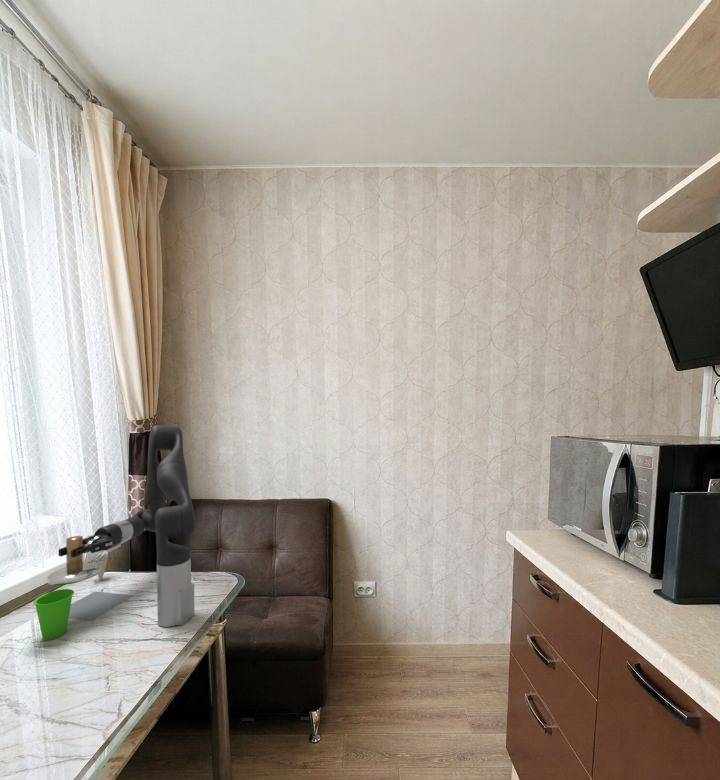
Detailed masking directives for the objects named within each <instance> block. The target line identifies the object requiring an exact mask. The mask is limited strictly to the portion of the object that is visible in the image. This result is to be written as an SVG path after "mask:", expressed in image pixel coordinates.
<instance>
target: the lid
mask: <svg viewBox="0 0 720 780" xmlns="http://www.w3.org/2000/svg"><path fill="white" fill-rule="evenodd" d="M65 543H66V545H65V547H66V555H65V556H66V557H65V558H66V559H65V560H66V561H65V562H66V564H65V565H66V566H65V567H62V568H59V569H57V570H55V571H53V572H51V573H50V574H48V576H47V584H48V585H51V586H66V585H72V584H75V583H80V582H83V581H86V580H89V579H91V578H93V577H96V576H98V573H99V572H100V565H99V564H97V563H93V562H85V563H84V561H83V560H84V556H83V554H84V553H83V554H81V555H79V556H76V557H71V550H73V549H75V548H78V547H80V546H83V535H75V536H70V537H67V539H66V541H65Z"/></svg>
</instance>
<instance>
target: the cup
mask: <svg viewBox="0 0 720 780" xmlns="http://www.w3.org/2000/svg"><path fill="white" fill-rule="evenodd" d="M74 594H75V592H74V590H73V589H70V588H63V589H57V590H53V591H50V592H47V593H43V594H42V595H40V596H38V597H37V598H35V599H34V600H33V605H34V606H35V608H36V613H37V618H38V623H39V626H40V628H39V629H40V631H41V637H42V640H43V641H50V640H55V639H58V638H60V637H62V636H64V635H65V634H66V633H67V629H68V623H69V619H70V618H69V612H70V607H71V604H72V600H73V599H72V598H73V596H74Z"/></svg>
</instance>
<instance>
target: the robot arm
mask: <svg viewBox="0 0 720 780" xmlns="http://www.w3.org/2000/svg"><path fill="white" fill-rule="evenodd" d="M182 431H183V430H182V429H181V427H178V426H173V425H159V424H158V425H157V424H156V425H153V426H152V427H151V429H150V433H149V436H148V437H149V438H148V449H147V451H148V452H147V474H146V475H147V478H146V486H145V492H144V497H143V502H144V504H145V505H146V506H148V507H149V508H150V509H147V508H146V509H142V510H139V511H138V512H136V513H135V514H134V515H132V516H131V517H129V518H127V519H124V520H120V521H116V522H113V523H110V524H107V525H104V526H102V527H99V528H97V530H96V531H95V533H94V534H91V535H87V536H86V537H84V538H83V546H80V547H78V548H75V549H73V550H71V557H76V556H79V555H81V554H88V553H91V554H94V553H95V552H98V551H101V550H106V551H108V550H110V549H112V548H115V547H117V546H119V545H122V544H124V543H126V542H128V541H130V540H131V539H134V538H136V537H138V536H140V535H142V533H143V532H144V531H145V530H147V531H149V532H151V533H152V532H153V533H155V537H156V538H155V539H156V540H155V541H156V598H157V599H156V601H157V602H156V603H157V604H156V606H157V608H156V609H157V624H158V626H159V627H162V626H163V627H164V628H172V627H176V626H175V625H177V626H183V625H184V624H185V623H186V622H188V621H189V620H190V619H192V618H193V617H194V616H195V611H196V610H195V583H193V582H192V571H191V570H192V569H191V568H192V564H191V558H192V557H191V555H192V554H191V549H190V547H189V546H186V545H181V544H175V543H172V542H170V541H169V540H170V539H177V538H182V537H187V536H190V535H193V533H194V532H195V530H196V523H197V522H196V521H197V520H196V514H195V510H194V509H195V508H194V506H193V505H194V504H193V501H192V497H191V493H190V488H189V479H188V478H189V476H188V472H187V466H186V460H185V455H184V442H183V437H184V436H183V432H182ZM158 451H171V452H169V454H167V455H166V456H165V457H164V458H163V459H162V460H161V461H160V462H159V459H158ZM166 496H167V497H169V498H171V499H172V500H173V501H174V502H175V503H176V504H177V505H173V506H171V505H170V506H166V500H165V499H166ZM65 556H66V546H64V547H61V548H59V549H58V557H65ZM171 626H172V627H171ZM163 627H162V628H163Z"/></svg>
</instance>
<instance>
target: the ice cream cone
mask: <svg viewBox="0 0 720 780" xmlns="http://www.w3.org/2000/svg"><path fill="white" fill-rule="evenodd" d="M108 555H109V552H108V550H101V551H98V552H95V553H92V563H97V564H99V565H100V572H99V573H98V574H97V576H98V577H97V578H98V579H99V581H103V577H104V574H105V571H106V567H107V564H108V561H109V557H110V556H108Z"/></svg>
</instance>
